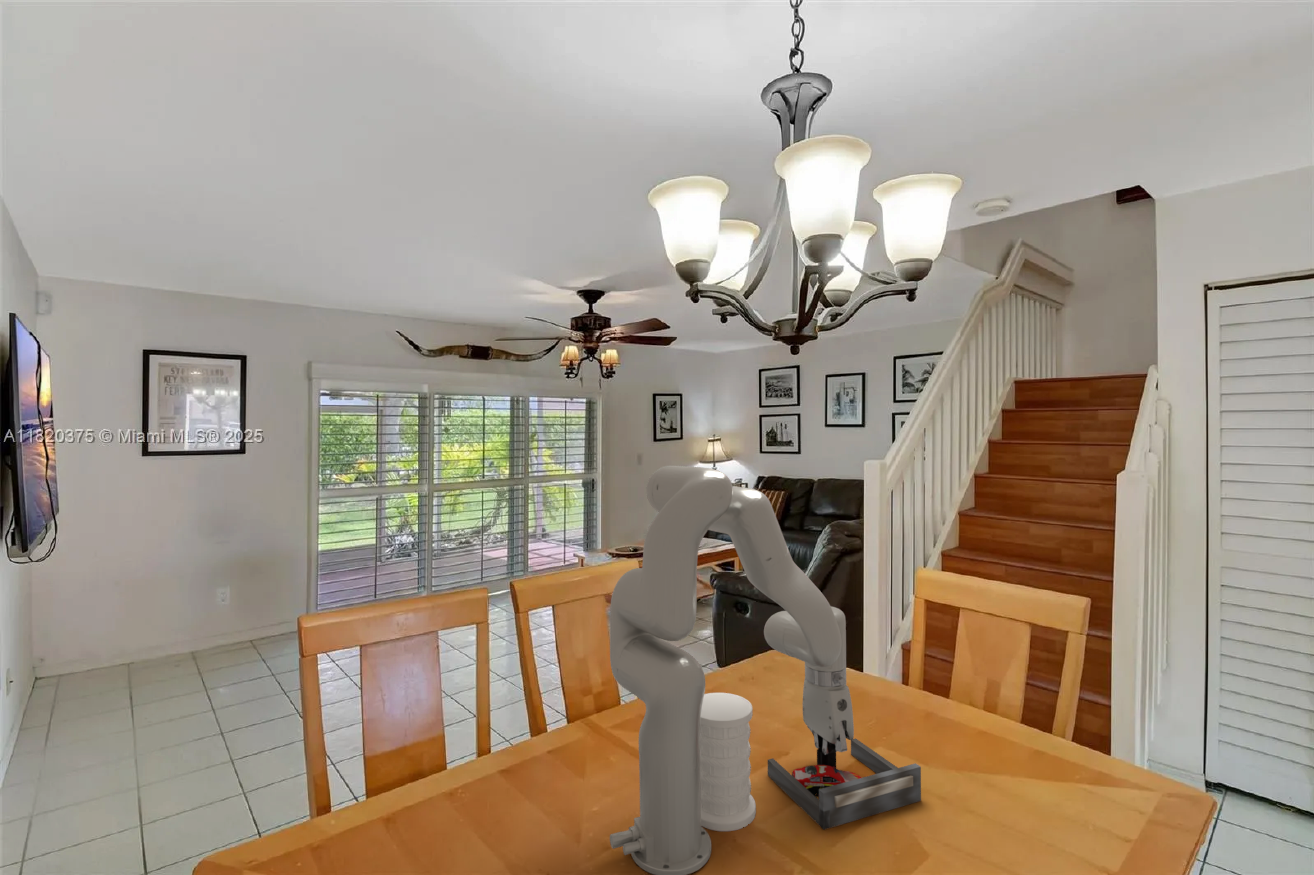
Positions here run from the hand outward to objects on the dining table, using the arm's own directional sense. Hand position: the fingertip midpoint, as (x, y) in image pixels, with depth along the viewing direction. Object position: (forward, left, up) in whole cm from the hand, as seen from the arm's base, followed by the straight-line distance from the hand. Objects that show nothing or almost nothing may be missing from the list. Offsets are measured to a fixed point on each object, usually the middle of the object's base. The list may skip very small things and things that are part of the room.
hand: (826, 770), depth 117 cm
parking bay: (0, -4, -1) cm, 4 cm away
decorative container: (-23, -2, -1) cm, 23 cm away
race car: (-3, -4, -1) cm, 5 cm away
